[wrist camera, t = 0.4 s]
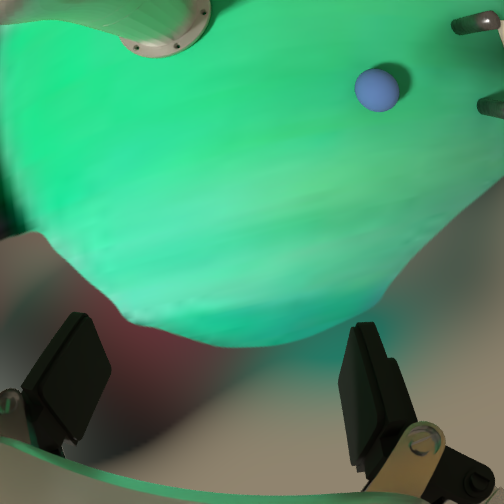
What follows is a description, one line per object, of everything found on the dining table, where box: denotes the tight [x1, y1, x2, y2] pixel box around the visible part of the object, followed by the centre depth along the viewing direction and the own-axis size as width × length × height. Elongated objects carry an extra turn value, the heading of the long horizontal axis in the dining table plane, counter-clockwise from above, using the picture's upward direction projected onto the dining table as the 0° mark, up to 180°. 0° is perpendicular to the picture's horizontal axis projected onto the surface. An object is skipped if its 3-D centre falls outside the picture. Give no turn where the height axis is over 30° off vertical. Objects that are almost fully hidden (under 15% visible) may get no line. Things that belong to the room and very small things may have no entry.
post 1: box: [451, 11, 501, 35], centre depth 23 cm, size 2×2×9 cm
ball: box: [355, 69, 399, 112], centre depth 31 cm, size 6×6×6 cm
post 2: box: [477, 99, 504, 119], centre depth 28 cm, size 2×2×9 cm
